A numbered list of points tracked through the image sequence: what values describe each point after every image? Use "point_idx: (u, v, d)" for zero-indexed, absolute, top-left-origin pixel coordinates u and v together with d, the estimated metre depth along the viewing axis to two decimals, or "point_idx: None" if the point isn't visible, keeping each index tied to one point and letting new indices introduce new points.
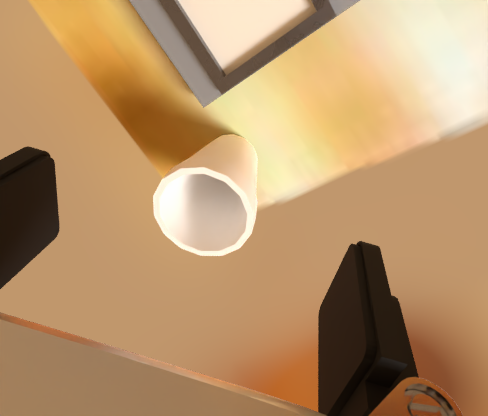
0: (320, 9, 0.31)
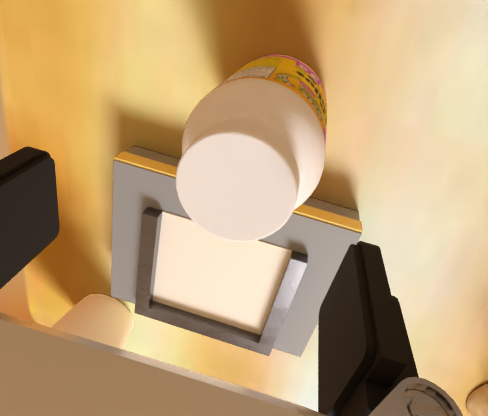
0: (262, 344, 0.31)
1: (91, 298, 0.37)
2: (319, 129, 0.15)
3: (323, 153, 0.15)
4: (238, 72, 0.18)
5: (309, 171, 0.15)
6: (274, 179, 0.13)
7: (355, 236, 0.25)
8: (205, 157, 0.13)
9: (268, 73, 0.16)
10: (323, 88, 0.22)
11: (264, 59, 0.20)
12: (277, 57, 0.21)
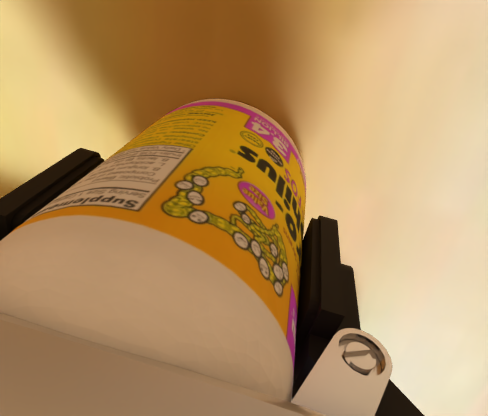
0: None
1: None
2: (272, 352, 0.06)
3: None
4: (113, 158, 0.09)
5: None
6: None
7: None
8: None
9: (157, 181, 0.07)
10: (299, 156, 0.13)
11: (185, 115, 0.11)
12: (212, 109, 0.11)
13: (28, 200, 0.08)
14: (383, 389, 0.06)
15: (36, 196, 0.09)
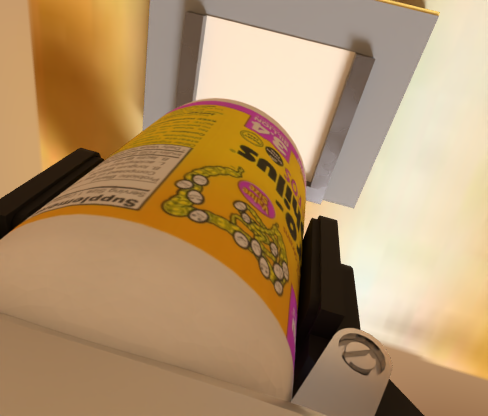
0: (314, 188, 0.28)
1: None
2: (272, 352, 0.06)
3: None
4: (113, 157, 0.09)
5: None
6: None
7: (431, 20, 0.22)
8: None
9: (157, 180, 0.07)
10: (299, 156, 0.13)
11: (185, 115, 0.11)
12: (212, 108, 0.11)
13: (28, 200, 0.08)
14: (383, 389, 0.06)
15: (36, 196, 0.09)
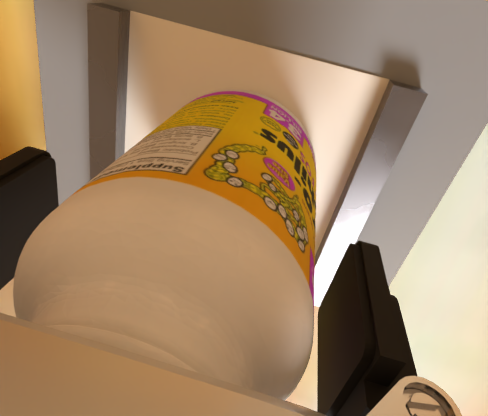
0: None
1: None
2: (300, 293, 0.07)
3: (309, 337, 0.07)
4: (150, 137, 0.10)
5: (278, 384, 0.07)
6: None
7: None
8: None
9: (196, 153, 0.08)
10: (310, 143, 0.14)
11: (209, 102, 0.12)
12: (233, 97, 0.12)
13: None
14: None
15: None
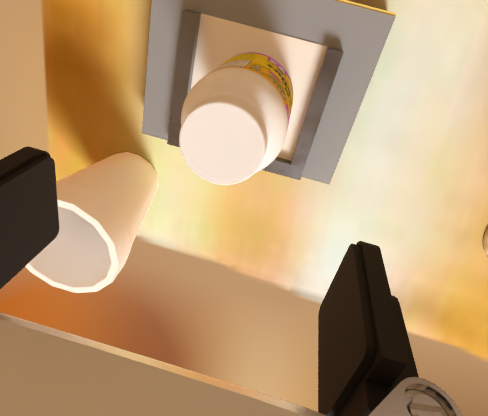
0: (294, 165, 0.32)
1: (117, 154, 0.38)
2: (282, 104, 0.21)
3: (285, 122, 0.21)
4: (222, 64, 0.24)
5: (275, 135, 0.21)
6: (249, 135, 0.18)
7: (389, 20, 0.26)
8: (201, 120, 0.18)
9: (245, 64, 0.22)
10: None
11: (242, 55, 0.26)
12: (253, 53, 0.27)
13: None
14: None
15: None
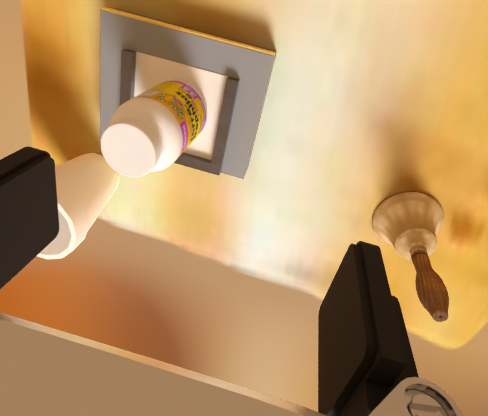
0: (213, 164, 0.41)
1: (85, 154, 0.48)
2: (175, 123, 0.31)
3: (178, 135, 0.31)
4: (143, 92, 0.34)
5: (170, 143, 0.31)
6: (144, 144, 0.28)
7: (269, 58, 0.36)
8: (112, 135, 0.28)
9: (154, 94, 0.32)
10: (202, 100, 0.38)
11: (163, 84, 0.36)
12: (171, 82, 0.36)
13: None
14: None
15: None
